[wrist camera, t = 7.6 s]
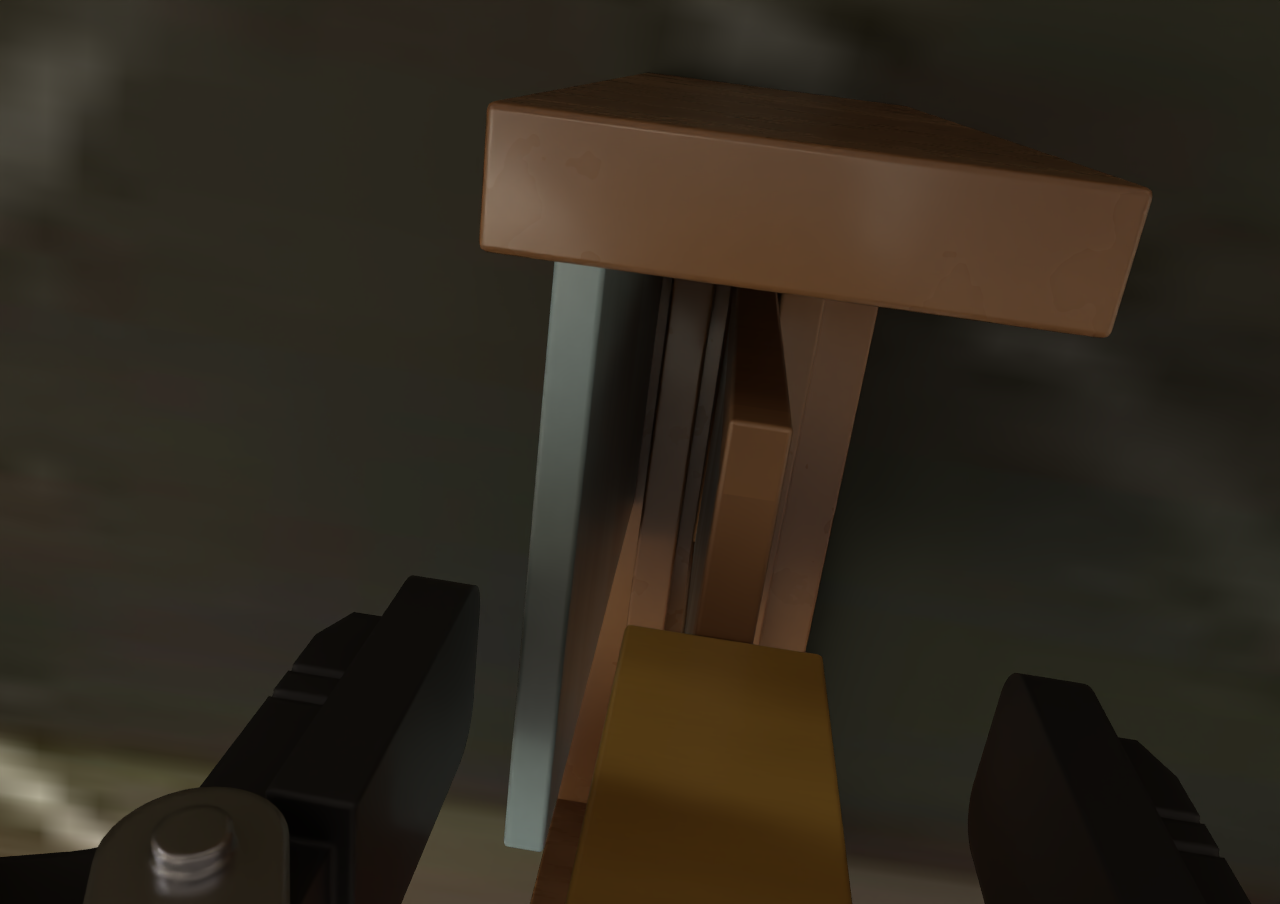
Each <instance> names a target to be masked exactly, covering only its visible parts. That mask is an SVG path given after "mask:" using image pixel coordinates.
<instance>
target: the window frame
mask: <svg viewBox="0 0 1280 904" xmlns="http://www.w3.org/2000/svg"><path fill="white" fill-rule="evenodd" d="M1151 201H1152V191H1151V190H1150V189H1148V188H1147V187H1144V186H1141V185H1138V184H1135V183H1132V182H1129V181H1127V180H1124V179H1121V178H1118V177H1115V176H1112V175H1109V174H1106V173H1103V172H1100V171H1097V170H1094V169H1091V168H1088V167H1085V166H1082V165H1079V164H1076V163H1073V162H1070V161H1067V160H1064V159H1061V158H1058V157H1055V156H1052V155H1049V154H1046V153H1043V152H1040V151H1037V150H1035V149H1032V148H1029V147H1026V146H1023V145H1020V144H1017V143H1014V142H1011V141H1008V140H1005V139H1002V138H999V137H996V136H993V135H990V134H987V133H984V132H981V131H978V130H975V129H972V128H969V127H966V126H963V125H960V124H957V123H954V122H951V121H948V120H945V119H943V118H940V117H937V116H934V115H931V114H928V113H925V112H922V111H919V110H916V109H913V108H910V107H907V106H901V105H893V104H886V103H878V102H870V101H863V100H855V99H847V98H840V97H832V96H824V95H817V94H809V93H801V92H794V91H786V90H778V89H771V88H763V87H755V86H748V85H740V84H732V83H725V82H717V81H709V80H702V79H694V78H686V77H678V76H671V75H663V74H655V73H643V74H638V75H632V76H627V77H622V78H616V79H611V80H606V81H600V82H595V83H590V84H584V85H579V86H573V87H568V88H563V89H557V90H552V91H547V92H541V93H536V94H531V95H525V96H520V97H514V98H509V99H504V100H498V101H494V102H491V103H490V104H489V106H488V108H487V115H486V132H485V149H484V166H483V183H482V200H481V217H480V234H479V244H480V247H481V249H483V250H484V251H486V252H490V253H497V254H504V255H511V256H519V257H526V258H533V259H540V260H547V261H554V273H553V285H552V296H551V308H550V319H549V330H548V342H547V353H546V365H545V376H544V388H543V399H542V410H541V422H540V433H539V445H538V456H537V468H536V479H535V490H534V502H533V513H532V525H531V536H530V547H529V559H528V570H527V582H526V593H525V605H524V616H523V627H522V639H521V650H520V662H519V673H518V685H517V696H516V707H515V719H514V730H513V742H512V753H511V764H510V776H509V787H508V799H507V810H506V822H505V833H504V843H505V845H506V846H508V847H513V848H519V849H525V850H531V851H537V852H540V851H542V850H543V849H544V851H543V855H542V859H541V863H540V867H539V871H538V874H537V878H536V882H535V886H534V890H533V894H532V898H531V902H530V904H565V902H566V897H567V892H568V888H569V883H570V879H571V874H572V869H573V865H574V860H575V856H576V851H577V846H578V842H579V837H580V833H581V828H582V823H583V819H584V814H585V810H586V805H587V800H588V796H589V791H590V787H591V782H592V777H593V773H594V768H595V764H596V759H597V754H598V750H599V745H600V741H601V736H602V731H603V727H604V722H605V718H606V713H607V708H608V704H609V699H610V695H611V690H612V685H613V681H614V676H615V672H616V667H617V662H618V658H619V653H620V649H621V644H622V639H623V635H624V630H625V628H626V627H627V626H628V625H635V626H641V627H647V628H654V629H660V630H666V631H673V632H679V633H680V632H681V624H682V615H683V607H684V599H685V590H686V582H687V574H688V565H689V557H690V549H691V543H692V536H693V530H694V524H695V517H696V511H697V504H698V498H699V491H700V485H701V479H702V472H703V466H704V459H705V453H706V446H707V440H708V433H709V427H710V420H711V414H712V408H713V401H714V395H715V388H716V382H717V375H718V369H719V362H720V356H721V350H722V343H723V337H724V330H725V324H726V317H727V311H728V304H729V298H730V292H731V286H732V287H740V288H747V289H754V290H761V291H768V292H775V293H777V296H778V305H779V313H780V322H781V331H782V340H783V348H784V357H785V366H786V375H787V384H788V392H789V401H790V410H791V418H792V427H793V435H792V441H791V446H790V451H789V457H788V462H787V467H786V472H785V478H784V483H783V488H782V494H781V499H780V504H779V509H778V515H777V520H776V525H775V531H774V536H773V541H772V547H771V552H770V557H769V562H768V568H767V573H766V578H765V584H764V589H763V594H762V599H761V605H760V610H759V615H758V621H757V626H756V631H755V637H754V642H753V644H755V645H762V646H768V647H774V648H781V649H787V650H793V651H800V652H805V651H806V647H807V642H808V637H809V632H810V628H811V623H812V618H813V614H814V609H815V604H816V599H817V595H818V590H819V585H820V581H821V576H822V571H823V566H824V562H825V557H826V552H827V548H828V543H829V538H830V534H831V529H832V524H833V519H834V515H835V510H836V505H837V501H838V496H839V491H840V486H841V482H842V477H843V472H844V468H845V463H846V458H847V453H848V449H849V444H850V439H851V435H852V430H853V425H854V421H855V416H856V411H857V406H858V402H859V397H860V392H861V388H862V383H863V378H864V373H865V369H866V364H867V359H868V355H869V350H870V345H871V340H872V336H873V331H874V326H875V322H876V317H877V312H878V308H879V307H882V308H889V309H896V310H904V311H911V312H918V313H925V314H932V315H939V316H946V317H953V318H961V319H968V320H975V321H982V322H989V323H996V324H1003V325H1011V326H1018V327H1025V328H1032V329H1039V330H1046V331H1053V332H1060V333H1068V334H1075V335H1082V336H1089V337H1096V338H1103V337H1108V336H1109V335H1110V333H1111V332H1112V329H1113V326H1114V323H1115V319H1116V316H1117V313H1118V309H1119V306H1120V303H1121V300H1122V296H1123V293H1124V290H1125V286H1126V283H1127V280H1128V277H1129V273H1130V270H1131V267H1132V263H1133V260H1134V257H1135V254H1136V250H1137V247H1138V244H1139V240H1140V237H1141V234H1142V231H1143V227H1144V224H1145V221H1146V217H1147V214H1148V211H1149V208H1150V204H1151ZM555 804H556V805H555ZM554 808H555V809H554ZM553 812H554V813H553ZM548 831H549V832H548ZM547 835H548V836H547ZM546 839H547V840H546ZM545 843H546V844H545Z"/></svg>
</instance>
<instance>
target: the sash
mask: <svg viewBox="0 0 1280 904" xmlns="http://www.w3.org/2000/svg"><path fill="white" fill-rule="evenodd" d="M792 435H793V427H792V418H791V410H790V401H789V392H788V384H787V375H786V366H785V357H784V348H783V340H782V331H781V322H780V313H779V305H778V296H777V293H775V292H768V291H761V290H754V289H747V288H740V287H732V286H731V292H730V298H729V304H728V311H727V317H726V324H725V330H724V337H723V343H722V350H721V356H720V362H719V369H718V375H717V382H716V388H715V395H714V401H713V408H712V414H711V420H710V427H709V433H708V440H707V446H706V453H705V459H704V466H703V472H702V479H701V485H700V491H699V498H698V504H697V511H696V517H695V524H694V530H693V536H692V543H691V549H690V557H689V565H688V574H687V582H686V590H685V599H684V607H683V615H682V624H681V632H680V633H679V632H673V631H666V630H660V629H654V628H647V627H641V626H635V625H628V626H627V627H626V628H625V630H624V635H623V639H622V644H621V649H620V653H619V658H618V662H617V667H616V672H615V676H614V681H613V685H612V690H611V695H610V699H609V704H608V708H607V713H606V718H605V722H604V727H603V731H602V736H601V741H600V745H599V750H598V754H597V759H596V764H595V768H594V773H593V777H592V782H591V787H590V791H589V796H588V800H587V805H586V810H585V814H584V819H583V823H582V828H581V833H580V837H579V842H578V846H577V851H576V856H575V860H574V865H573V869H572V874H571V879H570V883H569V888H568V892H567V897H566V902H565V904H852V898H851V890H850V881H849V873H848V865H847V856H846V848H845V840H844V831H843V823H842V815H841V806H840V798H839V790H838V782H837V773H836V765H835V757H834V748H833V740H832V732H831V723H830V715H829V707H828V698H827V690H826V682H825V674H824V665H823V659H822V657H821V656H820V655H818V654H812V653H806V652H800V651H793V650H787V649H781V648H774V647H768V646H762V645H755V644H753V642H754V637H755V631H756V626H757V621H758V615H759V610H760V605H761V599H762V594H763V589H764V584H765V578H766V573H767V568H768V562H769V557H770V552H771V547H772V541H773V536H774V531H775V525H776V520H777V515H778V509H779V504H780V499H781V494H782V488H783V483H784V478H785V472H786V467H787V462H788V457H789V451H790V446H791V441H792Z"/></svg>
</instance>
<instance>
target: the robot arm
mask: <svg viewBox="0 0 1280 904" xmlns="http://www.w3.org/2000/svg"><path fill="white" fill-rule="evenodd" d="M479 611H480V593H479V588H478V586H476V585H470V584H463V583H457V582H451V581H445V580H438V579H432V578H426V577H420V576H413V575H412V576H410V577H408V579H407V580H406V581H405V583H404V584H403V586H402V587H401V589H400V590H399V592H398V593H397V595H396V596H395V598H394V599H393V601H392V602H391V604H390V605H389V607H388V608H387V610H386V611H385V613H384V614H383V616H382V617H381V616H375V615H368V614H362V613H356V612H353V613H352V614H350V615H348V616H346V617H345V618H343V619H341V620H340V621H338V622H336V623H335V624H333V625H331V626H330V627H328V628H326V629H324V630H323V631H321V632H319V633H318V634H316V635H315V636H314V637H313V639H312V640H311V641H310V643H309V644H308V645H307V647H306V648H305V649H304V651H303V652H302V653H301V655H300V656H299V657H298V659H297V660H296V661H295V662H294V664H293V668H292V671H288V672H287V673H286V674H285V676H284V677H283V678H282V680H281V681H280V682H279V684H278V685H277V686H276V687H275V689H274V693H273V696H272V697H271V696H269V697H268V698H267V699H266V701H265V702H264V703H263V705H262V706H261V707H260V709H259V710H258V711H257V712H256V714H255V715H254V716H253V718H252V719H251V720H250V722H249V723H248V724H247V726H246V727H245V728H244V730H243V731H242V732H241V734H240V735H239V736H238V737H237V739H236V740H235V741H234V743H233V744H232V745H231V747H230V748H229V749H228V751H227V752H226V753H225V755H224V756H223V757H222V759H221V760H220V761H219V762H218V764H217V765H216V766H215V768H214V769H213V770H212V772H211V773H210V774H209V776H208V777H207V778H206V780H205V781H204V782H203V784H202V785H201V786H200V787H199V788H193V789H187V790H182V791H178V792H175V793H171V794H168V795H165V796H162V797H160V798H157V799H155V800H152V801H150V802H148V803H146V804H144V805H142V806H141V807H139V808H137V809H135V810H134V811H132V812H131V813H129V814H128V815H126V816H125V817H124V818H123V819H121V820H120V821H119V822H118V823H117V824H116V825H115V826H113V827H112V829H111V830H110V831H109V832H108V833H107V834H106V836H105V837H104V838H103V839H102V841H101V843H100V844H99V846H98V847H97V848H92V849H87V850H79V851H71V852H60V853H47V854H35V855H22V856H10V857H0V904H401V903H402V900H403V898H404V895H405V893H406V891H407V888H408V886H409V884H410V881H411V879H412V876H413V874H414V872H415V869H416V867H417V864H418V862H419V860H420V857H421V855H422V852H423V850H424V848H425V845H426V843H427V840H428V838H429V836H430V833H431V831H432V829H433V826H434V824H435V821H436V819H437V817H438V814H439V812H440V809H441V807H442V805H443V802H444V800H445V797H446V795H447V793H448V790H449V788H450V785H451V783H452V781H453V778H454V776H455V773H456V771H457V769H458V766H459V764H460V761H461V758H462V755H463V752H464V749H465V745H466V741H467V737H468V733H469V728H470V723H471V717H472V709H473V699H474V684H475V669H476V655H477V640H478V626H479ZM1199 819H1200V816H1199V814H1198V812H1197V810H1196V809H1195V807H1194V805H1193V804H1192V802H1191V800H1190V798H1189V797H1188V795H1187V793H1186V792H1185V790H1184V788H1183V786H1182V785H1181V783H1180V781H1179V780H1178V778H1177V777H1176V776H1175V775H1174V774H1173V773H1172V772H1171V771H1170V770H1169V769H1168V768H1166V767H1165V766H1164V765H1163V764H1162V763H1161V762H1160V761H1159V760H1158V759H1157V758H1156V757H1154V756H1153V755H1152V754H1151V753H1150V752H1149V751H1148V750H1147V749H1146V748H1145V747H1144V746H1142V745H1141V744H1140V743H1139V742H1138V741H1137V740H1131V739H1125V738H1119V737H1118V736H1117V734H1116V733H1115V731H1114V729H1113V727H1112V725H1111V723H1110V721H1109V719H1108V718H1107V716H1106V714H1105V712H1104V710H1103V708H1102V706H1101V704H1100V703H1099V701H1098V699H1097V697H1096V695H1095V693H1094V692H1093V690H1092V689H1091V688H1090V687H1089V686H1088V685H1086V684H1082V683H1076V682H1070V681H1063V680H1057V679H1051V678H1045V677H1038V676H1032V675H1026V674H1020V673H1014V674H1012V675H1011V676H1010V677H1009V678H1008V679H1007V681H1006V682H1005V684H1004V687H1003V689H1002V692H1001V695H1000V698H999V701H998V705H997V708H996V711H995V715H994V718H993V721H992V725H991V728H990V731H989V734H988V738H987V741H986V744H985V748H984V751H983V754H982V758H981V761H980V764H979V768H978V771H977V774H976V777H975V781H974V784H973V788H972V792H971V797H970V803H969V813H968V835H969V844H970V850H971V854H972V858H973V861H974V865H975V869H976V873H977V876H978V880H979V884H980V887H981V891H982V895H983V898H984V902H985V904H1251V903H1250V901H1249V899H1248V898H1247V896H1246V894H1245V892H1244V891H1243V889H1242V887H1241V886H1240V884H1239V882H1238V880H1237V879H1236V877H1235V875H1234V874H1233V872H1232V870H1231V869H1230V867H1229V865H1228V863H1227V862H1226V860H1225V858H1221V857H1219V848H1218V846H1217V845H1216V843H1215V841H1214V839H1213V838H1212V836H1211V834H1210V833H1209V831H1208V829H1207V828H1206V826H1205V824H1200V821H1199Z"/></svg>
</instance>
